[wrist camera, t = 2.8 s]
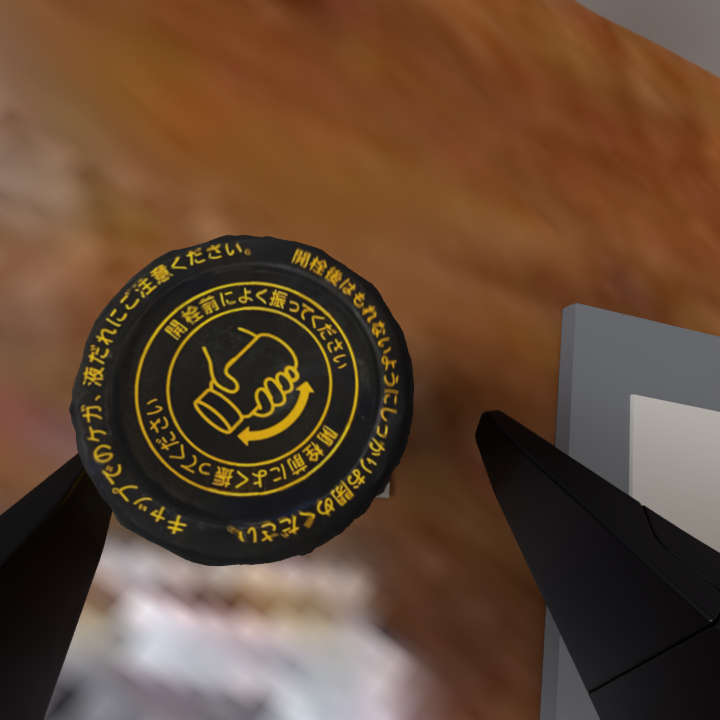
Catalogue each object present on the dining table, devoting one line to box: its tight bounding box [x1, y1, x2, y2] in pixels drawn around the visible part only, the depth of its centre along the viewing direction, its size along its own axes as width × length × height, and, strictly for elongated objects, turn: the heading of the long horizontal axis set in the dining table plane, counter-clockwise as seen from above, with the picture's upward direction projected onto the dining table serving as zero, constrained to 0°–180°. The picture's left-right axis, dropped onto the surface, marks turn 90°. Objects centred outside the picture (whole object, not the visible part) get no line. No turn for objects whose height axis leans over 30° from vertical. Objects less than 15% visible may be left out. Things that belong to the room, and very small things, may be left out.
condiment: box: [69, 235, 414, 566], centre depth 11 cm, size 7×8×12 cm
